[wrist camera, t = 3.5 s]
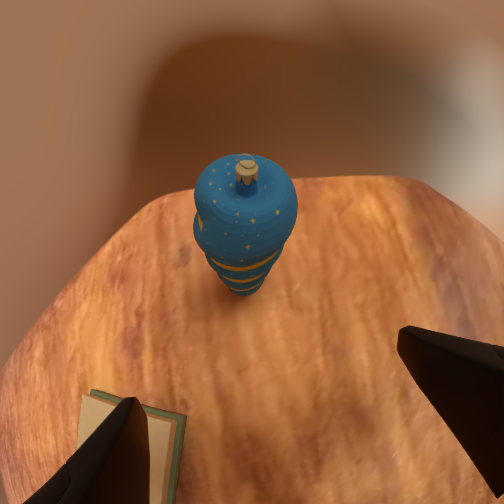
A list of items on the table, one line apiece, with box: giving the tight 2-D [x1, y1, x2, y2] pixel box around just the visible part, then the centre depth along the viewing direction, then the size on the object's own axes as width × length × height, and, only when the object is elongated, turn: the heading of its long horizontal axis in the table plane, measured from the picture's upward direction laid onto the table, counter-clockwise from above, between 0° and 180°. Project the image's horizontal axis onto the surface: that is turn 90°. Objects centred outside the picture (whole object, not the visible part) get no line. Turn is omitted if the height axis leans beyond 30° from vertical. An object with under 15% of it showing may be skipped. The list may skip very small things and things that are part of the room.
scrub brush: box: [76, 389, 187, 504], centre depth 15 cm, size 8×14×3 cm, turn 172°
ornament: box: [193, 154, 298, 296], centre depth 17 cm, size 5×5×15 cm
